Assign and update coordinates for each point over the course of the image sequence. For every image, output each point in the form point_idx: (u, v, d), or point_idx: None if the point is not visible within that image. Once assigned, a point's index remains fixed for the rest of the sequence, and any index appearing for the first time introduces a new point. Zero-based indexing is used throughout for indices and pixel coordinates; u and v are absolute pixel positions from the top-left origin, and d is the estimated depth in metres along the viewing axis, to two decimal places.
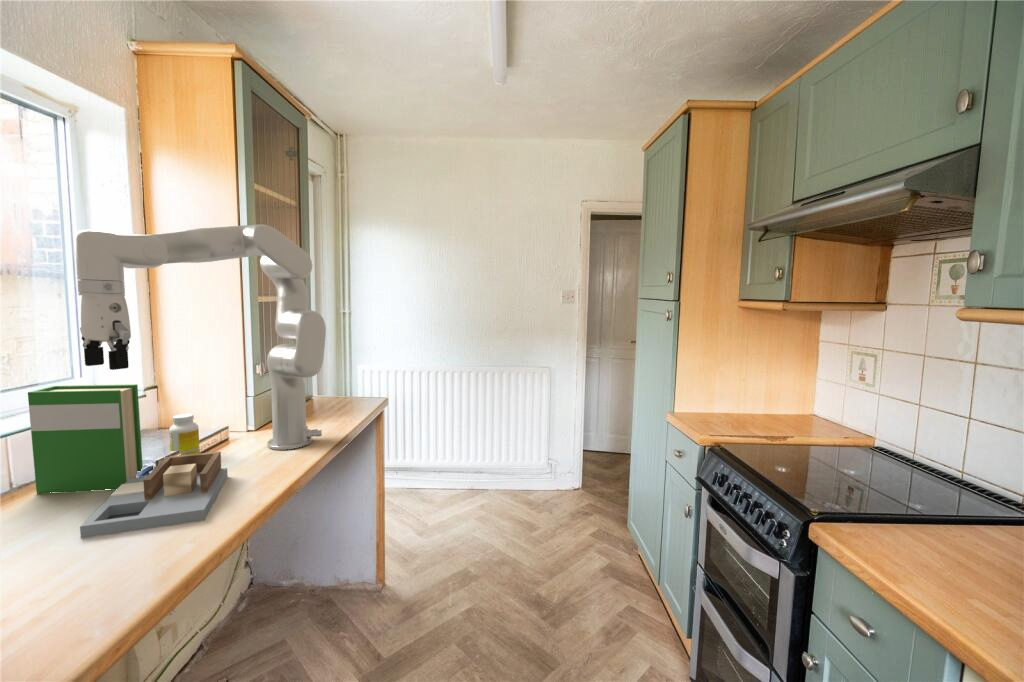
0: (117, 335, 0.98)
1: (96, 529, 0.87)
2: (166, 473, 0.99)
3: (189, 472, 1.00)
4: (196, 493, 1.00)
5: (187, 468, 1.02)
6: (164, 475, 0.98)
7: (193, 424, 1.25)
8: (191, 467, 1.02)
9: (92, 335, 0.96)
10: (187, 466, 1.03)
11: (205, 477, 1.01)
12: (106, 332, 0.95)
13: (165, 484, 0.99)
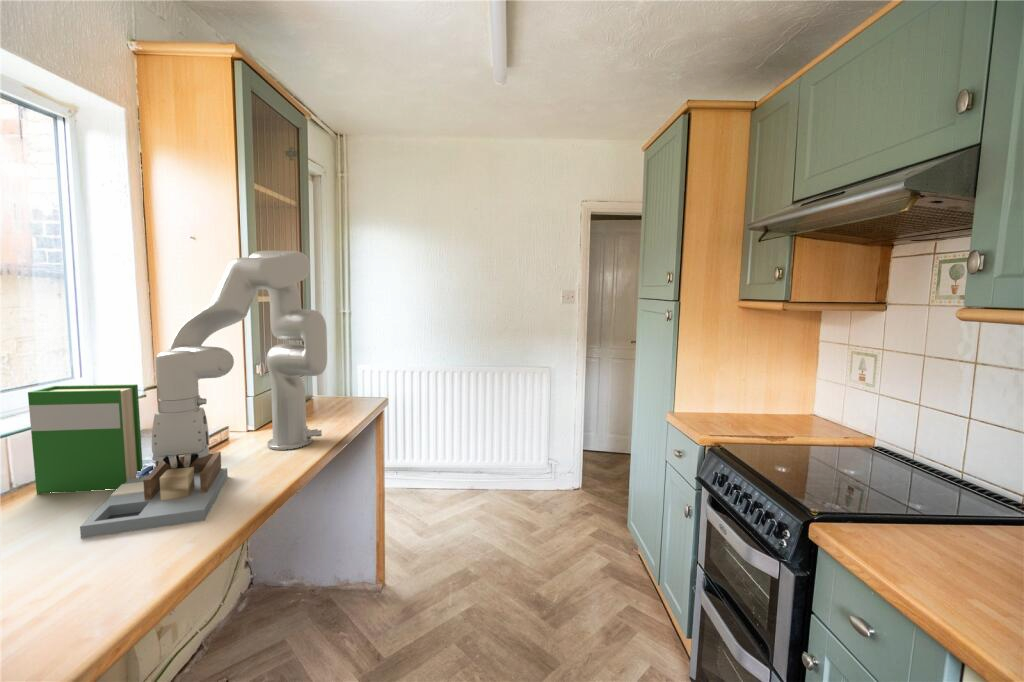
0: None
1: (96, 529, 0.87)
2: (163, 476, 0.97)
3: (186, 476, 0.98)
4: (196, 493, 1.00)
5: (184, 472, 1.00)
6: (161, 479, 0.96)
7: None
8: (188, 471, 1.00)
9: (178, 450, 1.01)
10: (184, 470, 1.01)
11: (205, 477, 1.01)
12: (203, 444, 1.03)
13: (162, 488, 0.97)
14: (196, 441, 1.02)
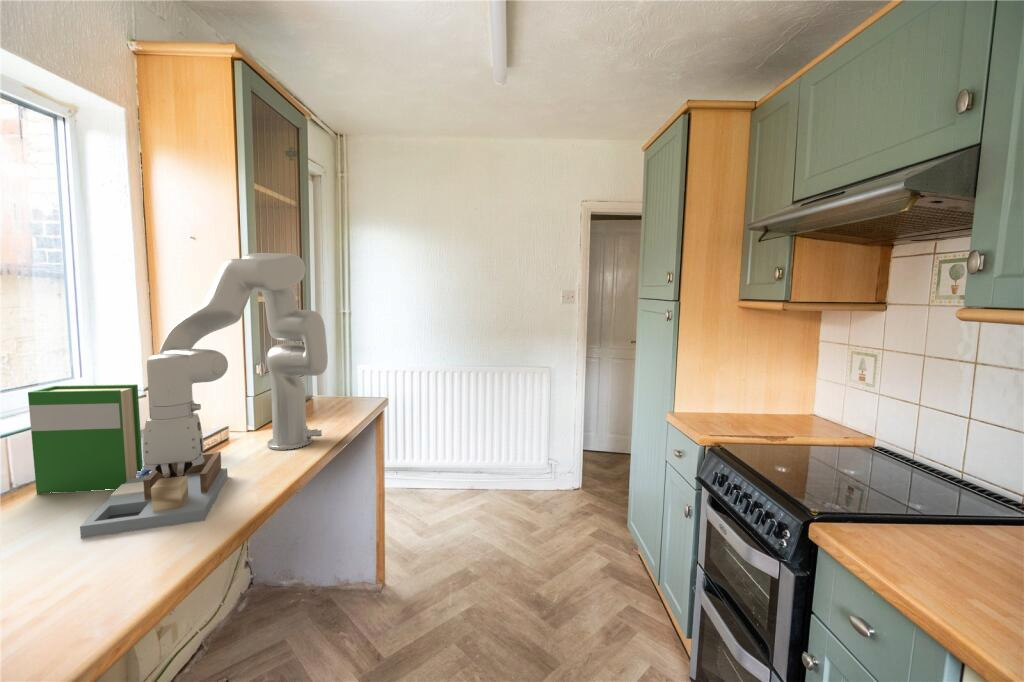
0: None
1: (96, 529, 0.87)
2: (154, 486, 0.92)
3: (179, 485, 0.93)
4: (196, 493, 1.00)
5: (177, 481, 0.95)
6: (152, 489, 0.91)
7: None
8: (181, 480, 0.95)
9: (171, 458, 0.96)
10: (177, 479, 0.96)
11: (205, 477, 1.01)
12: (198, 451, 0.98)
13: (153, 499, 0.92)
14: (190, 449, 0.97)
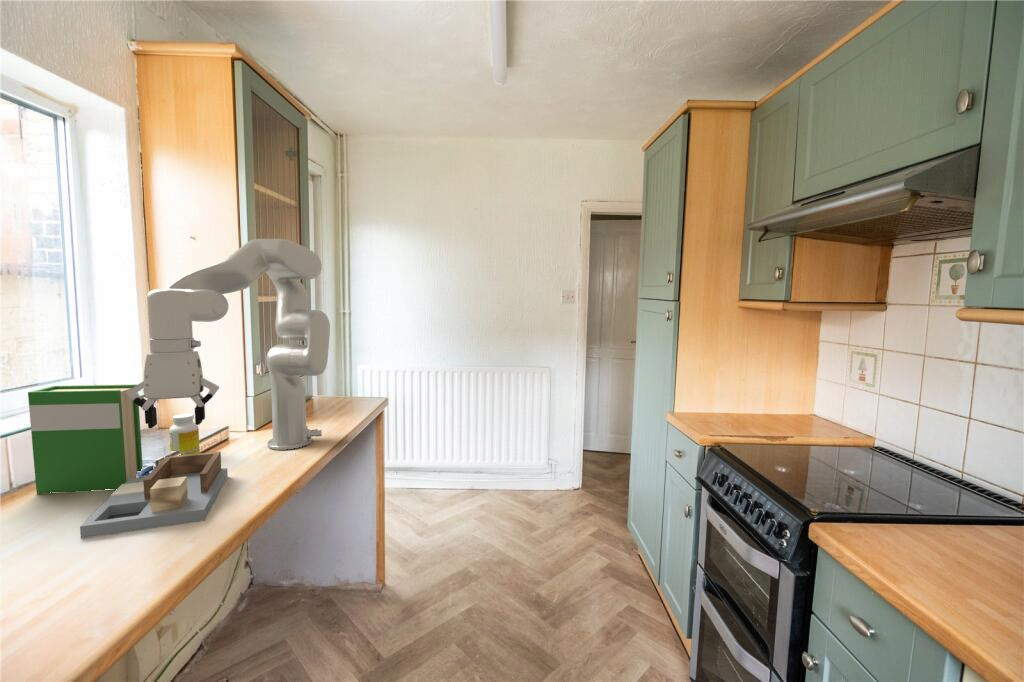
0: None
1: (96, 529, 0.87)
2: (154, 487, 0.92)
3: (178, 486, 0.93)
4: (196, 493, 1.00)
5: (177, 482, 0.94)
6: (151, 490, 0.91)
7: (193, 424, 1.25)
8: (181, 481, 0.95)
9: (171, 393, 0.97)
10: (177, 480, 0.95)
11: (205, 477, 1.01)
12: (198, 387, 0.99)
13: (152, 500, 0.91)
14: (190, 384, 0.98)
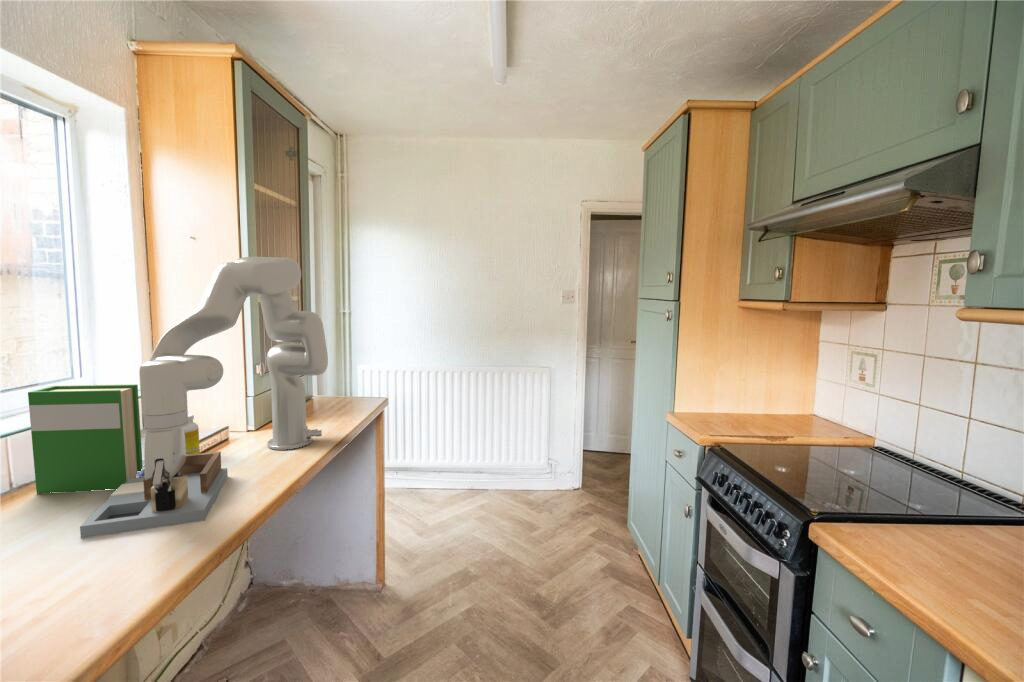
0: None
1: (96, 529, 0.87)
2: None
3: (179, 486, 0.93)
4: (196, 493, 1.00)
5: (177, 481, 0.95)
6: (152, 489, 0.91)
7: (193, 424, 1.25)
8: (181, 480, 0.95)
9: (180, 464, 0.95)
10: (177, 479, 0.96)
11: (205, 477, 1.01)
12: None
13: (153, 499, 0.92)
14: (185, 451, 0.98)
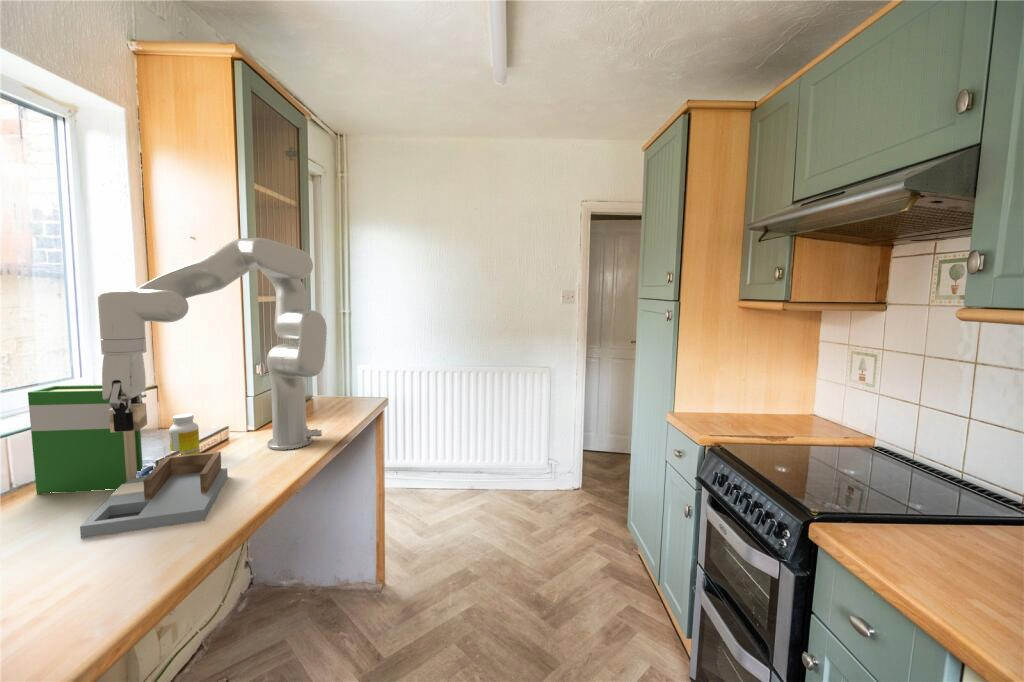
0: None
1: (96, 529, 0.87)
2: None
3: (136, 409, 0.99)
4: (196, 493, 1.00)
5: (135, 406, 1.00)
6: (110, 411, 0.97)
7: (193, 424, 1.25)
8: (140, 405, 1.01)
9: (139, 390, 1.00)
10: (136, 405, 1.01)
11: (205, 477, 1.01)
12: None
13: (111, 420, 0.97)
14: (144, 380, 1.03)
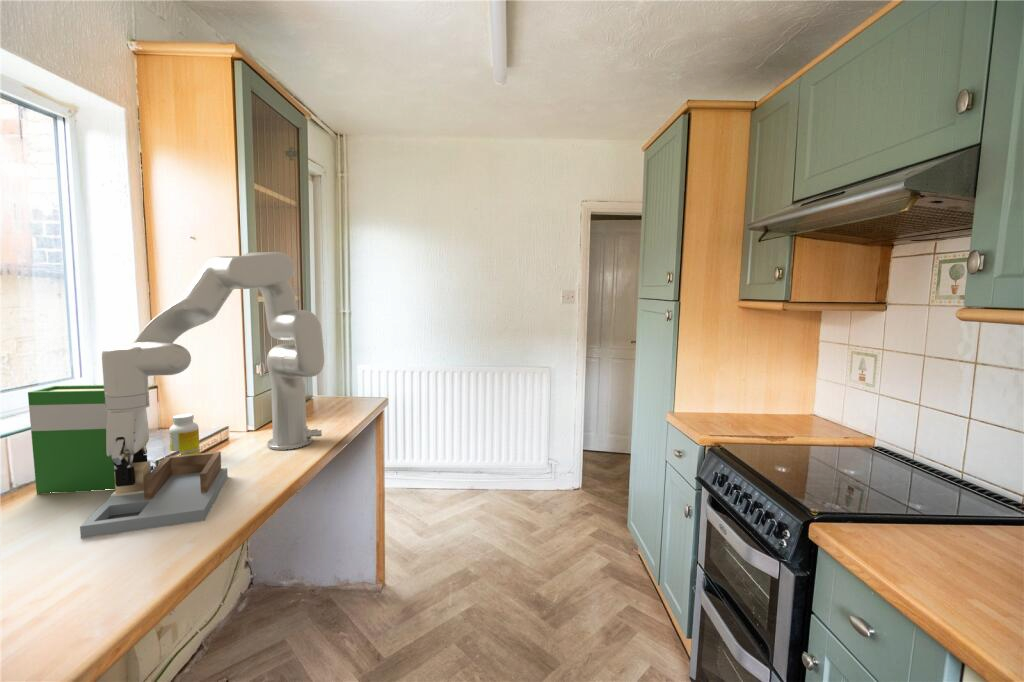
0: None
1: (96, 529, 0.87)
2: None
3: (141, 470, 1.00)
4: (196, 493, 1.00)
5: (140, 466, 1.01)
6: None
7: (193, 424, 1.25)
8: (144, 465, 1.02)
9: (142, 444, 1.02)
10: (140, 464, 1.02)
11: (205, 477, 1.01)
12: None
13: None
14: (147, 432, 1.05)
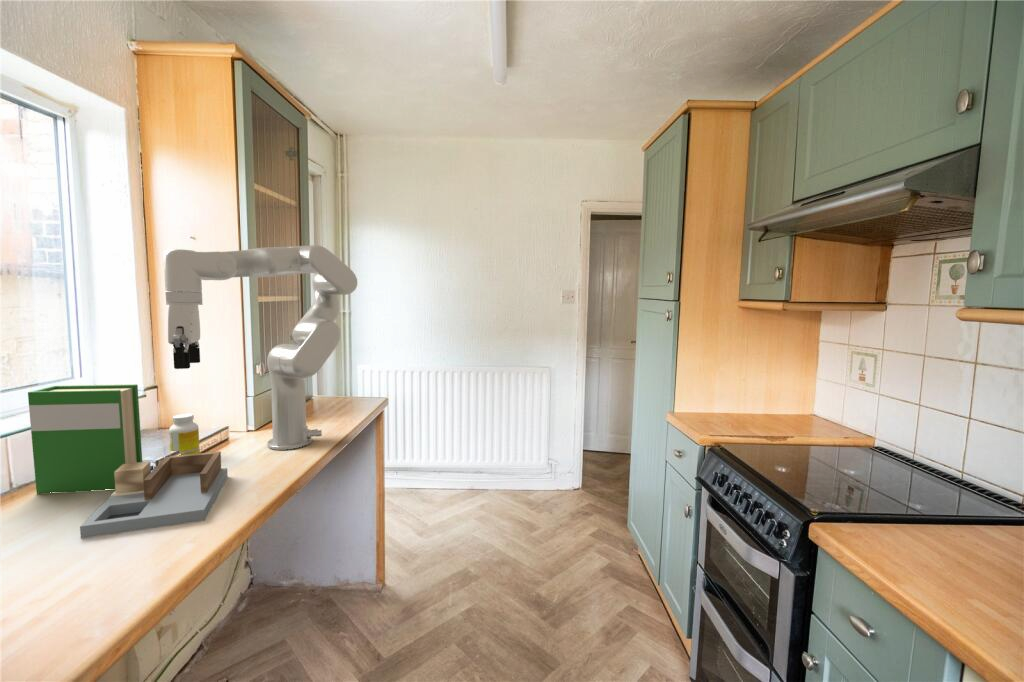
0: None
1: (96, 529, 0.87)
2: (118, 470, 0.99)
3: (141, 470, 1.00)
4: (196, 493, 1.00)
5: (140, 466, 1.01)
6: (115, 473, 0.98)
7: (193, 424, 1.25)
8: (144, 465, 1.02)
9: (196, 337, 1.16)
10: (140, 464, 1.02)
11: (205, 477, 1.01)
12: None
13: (116, 482, 0.98)
14: (199, 330, 1.19)
